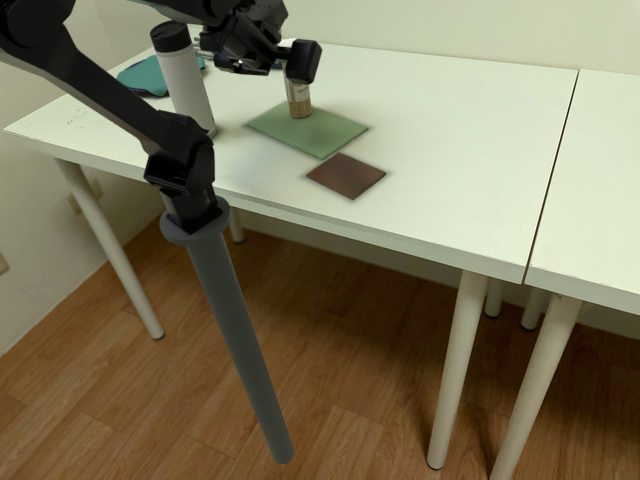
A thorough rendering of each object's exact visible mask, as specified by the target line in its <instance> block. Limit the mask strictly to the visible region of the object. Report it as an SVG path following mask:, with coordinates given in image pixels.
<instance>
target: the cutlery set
mask: <svg viewBox="0 0 640 480" xmlns="http://www.w3.org/2000/svg"><path fill="white" fill-rule="evenodd" d="M193 41H194V42H192V43H193V46H194V48H200V45H199V44H198V43H195V42H200V37H198V36H195V37H193ZM195 53H196V57H197V60H198V64H199V67H200V71H201V72H202V70H205V69H206V64H205V63H206V61H205V59H204V58H203V57H205V58H210V59H213V56H214V53H213V52H211V53H212V54H210V53H205V52H199V51H198V49H196V50H195ZM115 78H116V79H117V80H118V81H120V82H121V83H122V84H124V85H125V86H126V87H128V88H129V89H130V90H131V91H133V92H134V93H136V92H137V93H151V94H153V95H155V96H157V97H163V96H164V95H165V94H166V93H167V92H168V88H167V85H166V82H165V79H164V76H163V73H162V70H161V68H160V65H159V62H158V59H157V56H156V54H152V55H150V56H148V57H146V58H145V59H144V58H143V59H142V60H139V61H137V62H135V63H132V64H131V65H129V66H127V67H126V68H125V69H123V70H121V71H119V72H118V73H117V76H116V77H115Z"/></svg>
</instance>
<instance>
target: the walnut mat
mask: <svg viewBox="0 0 640 480" xmlns="http://www.w3.org/2000/svg"><path fill="white" fill-rule="evenodd" d="M386 175H387V172H386V171H385V170H383V169H380V168H377V167H375V166H373V165H371V164H369V163H365V162H363V161H361V160H359V159H357V158H354V157H352V156H350V155H347V154H345V153H342V152H341V151H338V152H336V153H335V154H333V155H332V156H331V157H329V158H328V159H326V160H325V161H323V162H322V163H320V164H319V165H317V166H316V167H315V168H313V169H312V170H310V171H309V172H307V173H306V174H305V177H306V178H308V179H310V180H312V181H314V182H316V183H318V184H320V185H322V186H324V187H327V188H328V189H331V190H332V191H334V192H336V193H338V194H340V195H343V196H345V197H346V198H348V199H350V200H355V199H356V198H358V197H359V196H360V195H361V194H363V193H364V192H365V191H367V190H368V189H370V187H372V186H373V185H374V184H375V183H376V182H378V181H380V179H382V178H383V177H384V176H386Z"/></svg>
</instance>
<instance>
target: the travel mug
mask: <svg viewBox="0 0 640 480" xmlns="http://www.w3.org/2000/svg"><path fill="white" fill-rule="evenodd" d="M149 37H150V40H151V43H152V45H153V49H154V52H155V55H156V56H157V59H158V62H159V65H160V68H161V70H162V73H163V76H164V79H165V82H166V85H167V88H168V90H167V92H168V94H169V96H170V97H169V98H170V100H171V102H172V105H173V108H174V111H175V112H174V113H178V114H182V115H187V116H191V117H192V118H193V119H195V120H196V122H197V123H198V124H199V125H200V126H201V127H202V128H204V129H207V130H209V133H208V134H207V135H208V136H209V137H210V138H211V139H212V138H214V137H215V136H216V134H217V133H218V128H217V124H216V120H215V117H214V113H213V111H212V107H211V103H210V99H209V96H208V93H207V89H206V86H205V81H204V78H203V75H202V70H201V71H200V67H199V64H198V60H197V57H196V56H197V55H196V53H195V51H196V50H195V47H194V46H193V43H194V42H193V41H192V38H191V34H190V30H189V27H188V24H185V23H179V22H176V21H174V20H172V19H169V20H166V21H163V22H160V23H158V24H157V25H155V26H154V27H153V28H152V29H151V30H150V32H149Z"/></svg>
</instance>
